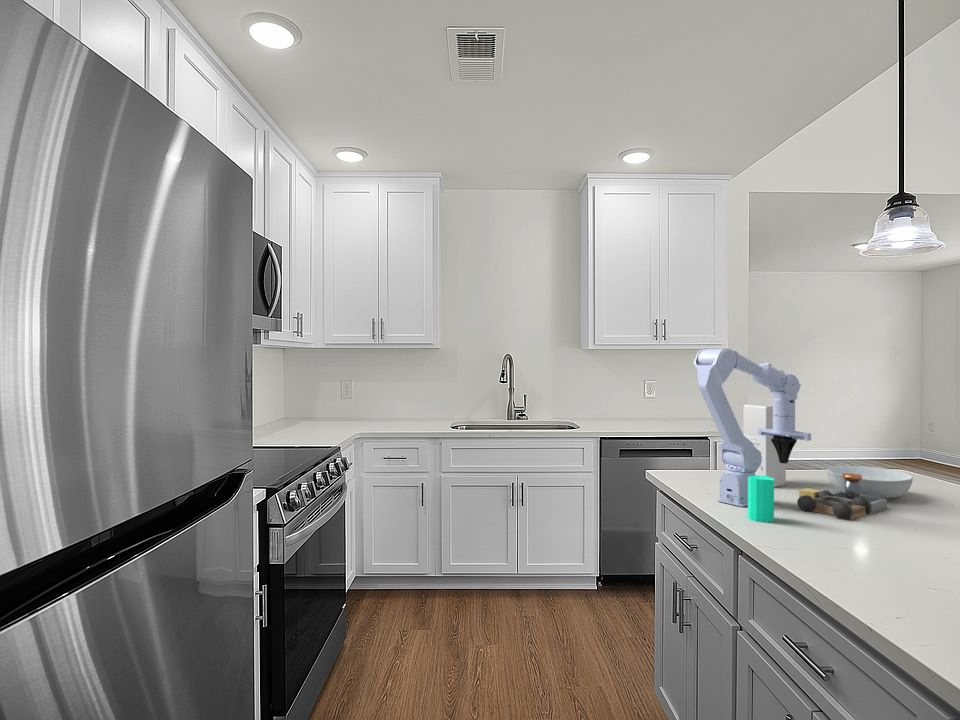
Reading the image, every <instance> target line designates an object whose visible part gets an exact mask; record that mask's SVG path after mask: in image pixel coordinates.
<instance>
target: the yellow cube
mask: <svg viewBox="0 0 960 720" xmlns="http://www.w3.org/2000/svg"><path fill="white" fill-rule="evenodd" d="M798 491H799V492H798V494H799V495H798V498H799V497H801V496H804V495H809V496H811V497H812V498H813V499H814V498H816V495H817V493H818V492H820V491H821V490H820V489H819V490H818V489H813V488H809V487H808V488H807V487H806V488H803V489H799V490H798Z"/></svg>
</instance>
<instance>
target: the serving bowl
mask: <svg viewBox="0 0 960 720" xmlns="http://www.w3.org/2000/svg"><path fill="white" fill-rule="evenodd" d="M843 473H854V474H860V475H862V480H860V494H861V495H866V496H872V497H878V498H883V499H894V498H898V497H901V496H902V495H903V496H904V495H905V494H906V493H908V491H909V490H910V489H911V487H912V484H913V480H914V478H913V476H912V475H910V474H908V473H905V472H903V471H899V470H895V469H889V468H882V467H876V466H864V465H863V466H862V465H861V466H860V465H835V466H830V467H827V476H828V479H829V481H830V483H831V484H832V485H833V486H834V487H835V488H836V489H837V490H838V491H844V492H845V479H844V478H843Z"/></svg>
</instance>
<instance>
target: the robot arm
mask: <svg viewBox="0 0 960 720" xmlns="http://www.w3.org/2000/svg"><path fill="white" fill-rule="evenodd" d="M693 365H694V368H695V371H696V373H697V374H696V375H697V384H698V389H699V391H700V393H701V396H702V397H703V399H704V403H705V404H706V407H707V408H708V411H709V413H710V415H711V417H712V419H713V422H714V425H715V426H716V428H717V431H718V433H719V435H720V437H721V439H722V441H721V442H720V443H719V445H718V448H719V451H720V459H721V461H722V463H723V464H724V465H725V469H726V471H725V473H723V474H722V475H721V476H720V477H719V498H718V499H716V502H720V503H724V504H728V505H732V506H737V507H742V508H743V507H744V508H745V507H748V477H749V476H755V472H757V469H758V468H759V467H760V465H761V462H762V456H761V453H760V451H759V450H757V449H756V448H755V447H754V445H753V443H752V442H751V441H750V440H749V439H747V438H746V437H745V436H744V435H743V432H742V430H741V426H740V425H739V423H738V420H737V418H736V415H735V414H734V412H733V410H732V407H731V404H730V403H729V400H728V398H727V396H726V393H725V391H724V388H723V383H725V382H726V381H727V379H728V377H730V375H731V373H732V372H733V370H734V369H736V370H738V371H741V372H743V373H745V374H748V375H750V376H751V377H752V380H753V381H754V382H755V383H758V384H760V385H762V386H764V387H766V388H768V390H769V392H771V393H772V405H773V429H765V428H759V429H758V435H765V436H773V438H772V439H771V442H772V443H773V445H774V447H775V449H776V451H777V454H778V457H779V461H780V463H784V464H785V463H786V464H788V463H789V460H790V455H791V453H792V450H793V449H794V447H795V445H796V443H797V441H798V440H801V441H806V442H808V441H812V433H810V432H804V431H803V432H802V431H798V430H796V401H797V399H798V393H799V392H800V388H801V385H802V384H801V383H800V381H799V379H798V377H796V375H794V374H792V373H785V372H784V370H783V369H777V368H776V367H773V364H771V363H769V362H765V363H763V362H762V363H759V364H758V363H756V362H754V361H752V360H751V359H749V358H747V357H746V356H743V355H741V354H740V353H739V352H738V351H735V350H733V349H731V348H728V347H727V348H701V349H700V350H699V351H698V352H697V353H696V356H695V359H694V361H693ZM776 434H778V435H776ZM783 435H786V436H783Z"/></svg>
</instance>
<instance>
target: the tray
mask: <svg viewBox="0 0 960 720" xmlns="http://www.w3.org/2000/svg"><path fill="white" fill-rule="evenodd" d="M831 493H832V494H833V496H834V497H838V498H843V499H846V498H844V491H841V490H837V491H834V492H831ZM860 497H865V498H866V499H868V500H869V502H870V504H871V508H870V510H869V511H868V512H866V514H870V515H871V514H875V513H877V511H878V512H881V511H884V510H887V509H888V504H887V503H888V498H886V499H883V498H878V497H872V496H866V495H861V494H860ZM849 500H852V499H849ZM886 508H887V509H886ZM883 509H884V510H883ZM880 510H881V511H880ZM874 512H875V513H874Z"/></svg>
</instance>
